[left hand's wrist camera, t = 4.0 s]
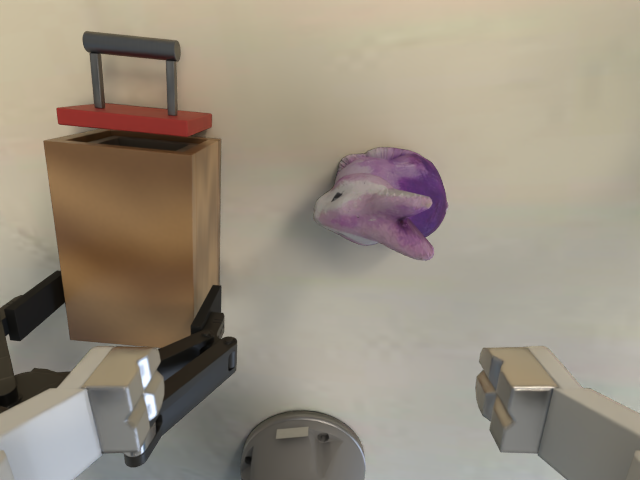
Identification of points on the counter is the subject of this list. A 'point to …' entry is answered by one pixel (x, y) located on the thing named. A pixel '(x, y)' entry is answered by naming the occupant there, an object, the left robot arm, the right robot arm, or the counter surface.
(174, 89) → the drawer
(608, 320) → the counter surface
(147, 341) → the cabinet
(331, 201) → the figurine
